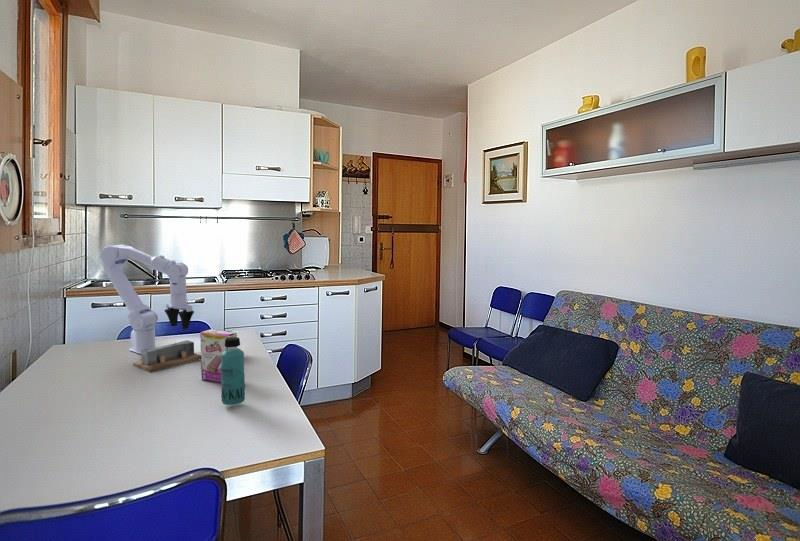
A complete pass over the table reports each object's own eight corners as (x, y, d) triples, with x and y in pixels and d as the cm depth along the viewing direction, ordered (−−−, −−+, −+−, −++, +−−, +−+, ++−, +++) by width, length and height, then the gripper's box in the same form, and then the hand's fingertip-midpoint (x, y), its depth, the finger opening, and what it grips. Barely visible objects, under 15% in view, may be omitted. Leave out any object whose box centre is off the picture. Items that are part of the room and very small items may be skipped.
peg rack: (133, 365, 168) (132, 355, 168) (186, 353, 184) (185, 344, 184) (149, 372, 161) (149, 362, 161) (203, 358, 177) (202, 349, 177)
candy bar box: (200, 380, 154) (199, 332, 152) (211, 376, 158) (210, 328, 157) (228, 385, 150) (227, 335, 148) (238, 380, 155) (237, 331, 153)
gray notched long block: (147, 365, 164) (147, 352, 164) (141, 363, 167) (141, 350, 166) (194, 354, 178) (193, 342, 178) (187, 352, 181) (187, 340, 180)
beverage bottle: (225, 401, 136) (223, 335, 134) (248, 401, 137) (246, 335, 135) (218, 410, 130) (216, 341, 128) (242, 410, 130) (241, 340, 128)
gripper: (158, 293, 184) (159, 326, 186) (180, 296, 177) (181, 331, 178) (174, 290, 190) (176, 323, 192) (196, 294, 183) (197, 328, 184)
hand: (179, 327), depth 185 cm, fingers open, 7 cm apart
